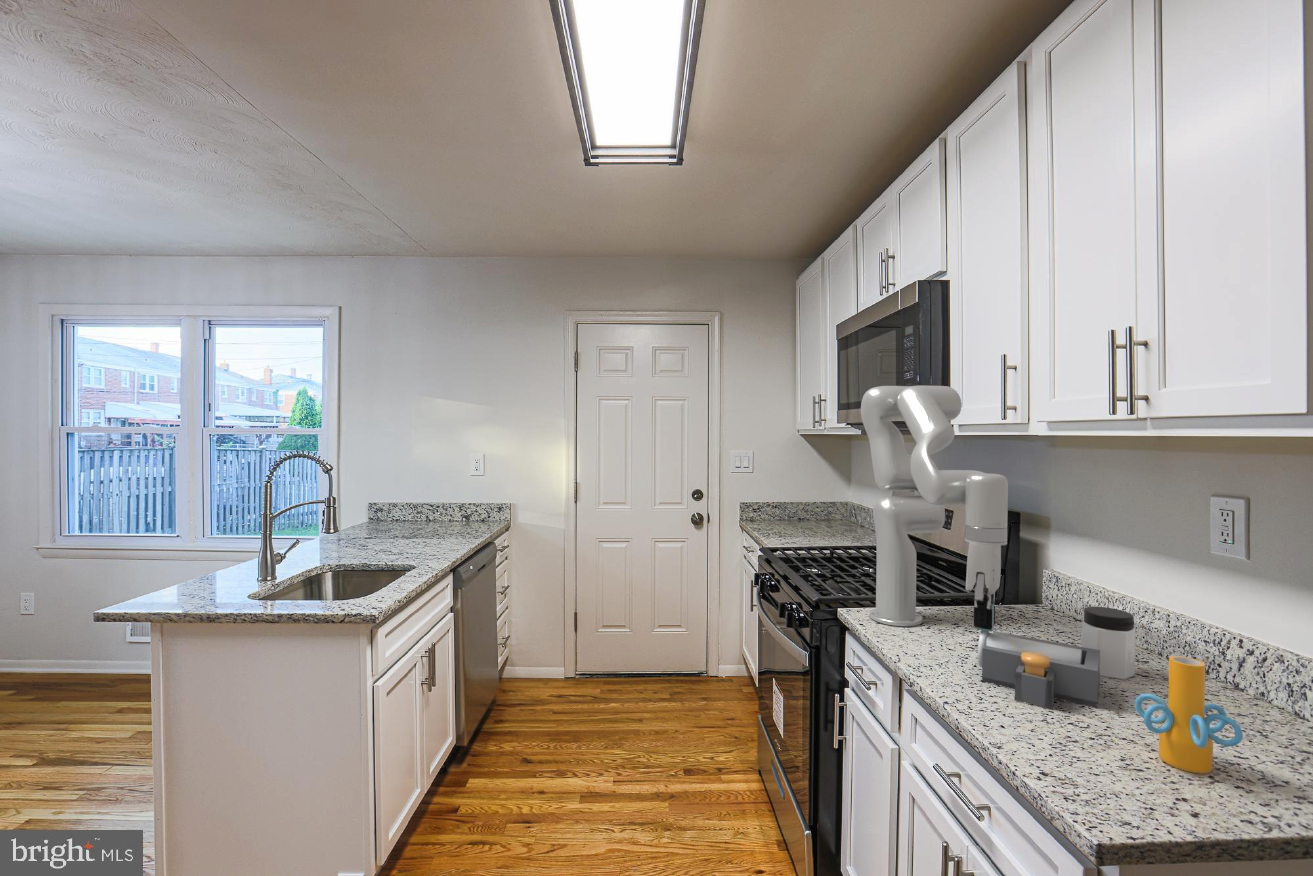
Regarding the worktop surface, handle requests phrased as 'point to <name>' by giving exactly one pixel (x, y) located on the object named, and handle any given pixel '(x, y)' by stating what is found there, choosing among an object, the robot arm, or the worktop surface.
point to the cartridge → (1025, 646)
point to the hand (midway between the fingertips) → (984, 625)
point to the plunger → (1035, 663)
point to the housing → (1059, 678)
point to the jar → (1110, 640)
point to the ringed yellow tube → (1187, 719)
